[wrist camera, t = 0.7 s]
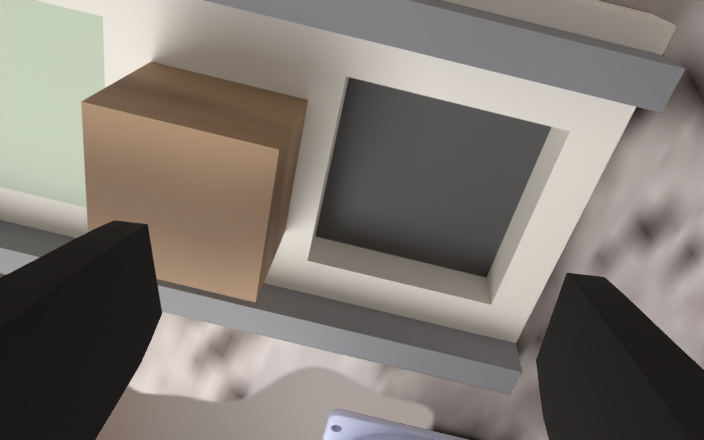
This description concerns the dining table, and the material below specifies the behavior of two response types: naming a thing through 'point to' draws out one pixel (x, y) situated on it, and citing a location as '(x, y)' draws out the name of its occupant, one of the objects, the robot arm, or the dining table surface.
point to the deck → (360, 153)
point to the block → (195, 172)
